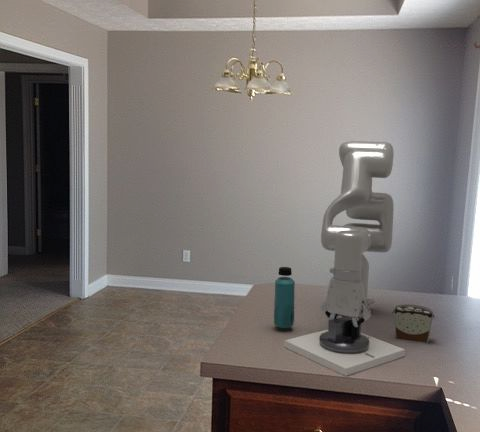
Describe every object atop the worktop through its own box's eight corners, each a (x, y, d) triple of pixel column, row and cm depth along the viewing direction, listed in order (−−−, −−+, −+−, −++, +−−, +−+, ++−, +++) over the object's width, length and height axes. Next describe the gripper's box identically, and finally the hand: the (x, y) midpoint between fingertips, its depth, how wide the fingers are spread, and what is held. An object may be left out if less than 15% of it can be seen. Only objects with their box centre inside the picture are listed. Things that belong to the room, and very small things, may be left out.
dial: (343, 357, 152) (345, 330, 151) (309, 341, 163) (310, 315, 162) (379, 347, 160) (381, 321, 159) (344, 332, 171) (345, 308, 170)
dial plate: (341, 331, 178) (342, 325, 178) (404, 356, 159) (405, 349, 159) (284, 347, 164) (284, 340, 164) (345, 376, 145) (346, 368, 145)
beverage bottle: (292, 333, 176) (295, 270, 173) (271, 331, 177) (273, 269, 174) (294, 326, 182) (297, 266, 179) (274, 324, 184) (276, 264, 181)
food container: (433, 337, 175) (435, 306, 174) (432, 344, 169) (435, 312, 168) (392, 332, 179) (393, 301, 178) (390, 338, 173) (392, 307, 172)
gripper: (313, 272, 160) (311, 333, 163) (371, 282, 151) (367, 347, 153) (325, 267, 167) (322, 326, 169) (381, 277, 157) (377, 339, 160)
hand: (344, 336), depth 161 cm, fingers open, 5 cm apart
